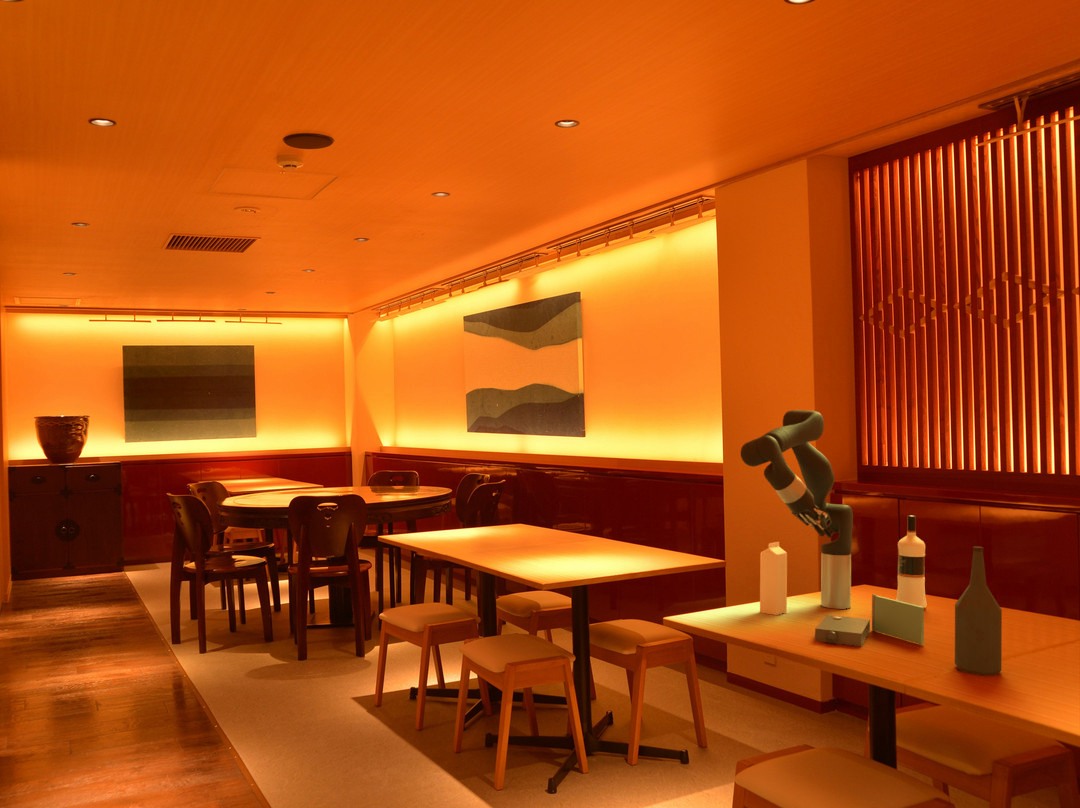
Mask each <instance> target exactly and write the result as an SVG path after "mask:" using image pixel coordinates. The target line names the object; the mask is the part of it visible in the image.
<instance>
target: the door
mask: <svg viewBox="0 0 1080 808" xmlns="http://www.w3.org/2000/svg"><path fill="white" fill-rule="evenodd" d="M924 624H925V609H924V607H921V606H917V605H913V604H909V603H905V602H901V601H897V600H896V599H892V598H889V597H884V596H879V595H877V594H875V593H873V594H872V595H871V631H872V630H874V631H873V632H878V633H880V634H883V633H884V635H888V636H890V635H891V637H894V638H897V637H898V639H900V638H901V640H904V641H907V640H908V641H907V642H910V641H911V643H914V642H915V643H914V644H917V643H918V645H922V644H923V645H924V643H925V639H924V638H925V636H924V635H925V625H924Z"/></svg>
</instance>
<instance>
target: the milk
mask: <svg viewBox="0 0 1080 808" xmlns="http://www.w3.org/2000/svg"><path fill="white" fill-rule="evenodd" d="M759 563H760V565H759V568H760V569H759V571H760V573H759V574H760V575H759V576H760V577H759V578H760V579H759V613H761V614H762V613H763V614H766V615H767V614H768V615H772V614H773V615H772V616H779V614H780V615H783V614H782V613H784V614H786V612H787V608H788V607H787V606H788V603H787V602H788V600H787V599H788V598H787V597H788V552H787V551H785V550H784V549H783V548H781V547H780V541H774V542H769V543H768V546H767V548H765V549H764V550H763V551H761V552H760V561H759Z"/></svg>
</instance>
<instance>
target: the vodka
mask: <svg viewBox="0 0 1080 808" xmlns="http://www.w3.org/2000/svg"><path fill="white" fill-rule="evenodd" d="M906 518H907V519H906V520H907V521H906V522H907V526H906V527H907V528H906V529H907V530H906V535H905V536H904V537H902V538H901V539H899V541H898V542H897V558H898V559H897V592H896V598H895V600H897V601H901V602H905V603H909V604H913V605H917V606H921V607H926V608H927V604H928V602H927V599H926V589H925V585H926V583H925V582H926V578H925V556H926V543H925V542H924V540H922V539H921V538H919V537H918V536H917V523H916V522H917V520H916V519H917V517H916V515H907V517H906Z"/></svg>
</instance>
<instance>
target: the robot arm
mask: <svg viewBox="0 0 1080 808" xmlns="http://www.w3.org/2000/svg"><path fill="white" fill-rule="evenodd" d="M824 428H825V421H824V417H823V414H821V413H820V412H819V411H815V410H809V409H807V410H806V409H805V410H804V409H803V410H802V409H792V410H787V411H786V412H785V414H784V415H783V417H782V426H779V427H776V428H774V429H772V430H770V431H767V432H766V433H764V434H763V435H761V436H760V437H757V438H755V439H751V440H749V441H747V442H745V443H743V445H742V447H741V449H740V459H741V460H742V461H743V463H744V464H746V465H747V466H749V467H752V468H753V467H758V466H761V465H764V464H765V463H768V462H770V463H769V464H768V465H767V466H765V469H764V471H763V476H764V478H765V479H766V481H767V482H768V483H769V484H770V486H771V487H772V488H773V489H774V491H775V492H776V494H777V495H778V497H779V499H780V500H781V501H782V502H783V503H784V504H785V505H786V507H787V508H788V509H789V510H790V512H791V514H792V515H793V516H794V517H796V518H797V519H798V520H799V521H800V522H802V523H803V524H804V525H805V526H807V527H808V526H810V528H812V529H813V530H815V532H816V533H817V534H818V535H819V536H820V537H824V536H825V535H826V537H827V538H830V539H831V538H833V536H834V534H836V533H837V534H838V537H837V538H836V539H835V540H832V541H828V542H824V543H822V544H821V547H820V548H821V552H820V553H821V554H820V556H821V560H820V561H821V564H820V566H821V570H820V571H821V575H820V577H821V578H820V579H821V580H820V583H821V584H820V586H821V587H820V606H822V607H823V608H828V609H838V610H844V609H845V610H846V608H847V609H850V608H851V606H852V605H851V604H852V602H851V601H852V599H851V598H852V588H851V587H852V545H853V525H854V524H853V523H854V514H853V509H852V507H851V506H850V505H847V504H836V503H828V502H827V501H826V499H827V498H826V497H828V495H829V493H830V491H831V490H832V488H833V486H834V484H835V474H834V470H833V468H832V464H831V463H830V461H829V459H828V458H827V457H826V456H825V455H824V454H823V453H822V452H821V451H819V450H818V449H817V448H815V446H813V445H812V444H811V443H810V442H814V441H817V440H819V439H820V438H821V437H822V435H823V433H824V430H825V429H824ZM790 449H791V451H792V452H793V454H794V456H795V459H796V462H797V464H798V467H799V470H800V473H801V475H802V479H803V481H804V482H803V481H802V479H801V478H800V477H799V476H798V475H797V474H795V472H794V471H793V470H792V468H790V466H789V465H788V464H787V461H786V460H785V457H784V454H783V453H784V452H786V451H788V450H790Z"/></svg>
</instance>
